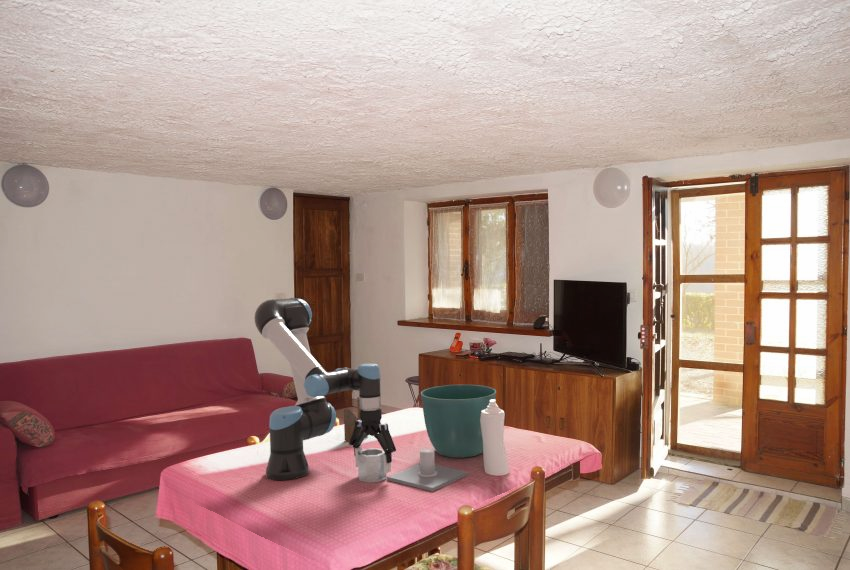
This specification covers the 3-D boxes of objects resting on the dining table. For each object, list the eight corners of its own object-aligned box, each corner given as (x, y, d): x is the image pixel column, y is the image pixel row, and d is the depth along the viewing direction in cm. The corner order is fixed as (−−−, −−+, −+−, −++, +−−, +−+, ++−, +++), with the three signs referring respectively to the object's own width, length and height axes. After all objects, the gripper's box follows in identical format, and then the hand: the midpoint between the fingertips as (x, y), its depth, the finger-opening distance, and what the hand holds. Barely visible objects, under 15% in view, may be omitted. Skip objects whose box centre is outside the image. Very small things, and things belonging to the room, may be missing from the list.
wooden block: (344, 441, 264) (343, 399, 264) (362, 435, 272) (361, 395, 272) (350, 442, 262) (348, 400, 262) (368, 437, 270) (367, 396, 270)
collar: (373, 484, 208) (372, 457, 208) (353, 479, 214) (352, 453, 214) (391, 476, 215) (391, 451, 215) (372, 471, 221) (371, 446, 221)
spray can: (473, 471, 219) (471, 401, 218) (489, 463, 227) (487, 396, 227) (501, 477, 212) (499, 405, 211) (516, 468, 220) (515, 399, 220)
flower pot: (459, 468, 222) (457, 402, 222) (407, 452, 245) (405, 392, 245) (513, 451, 242) (511, 390, 242) (460, 437, 265) (459, 382, 264)
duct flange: (432, 491, 199) (431, 463, 199) (387, 480, 211) (386, 453, 211) (467, 475, 215) (467, 448, 214) (423, 465, 227) (422, 440, 227)
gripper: (404, 409, 209) (407, 471, 209) (353, 403, 225) (355, 460, 225) (389, 414, 203) (392, 477, 203) (338, 406, 219) (340, 466, 219)
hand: (373, 469), depth 214 cm, fingers open, 13 cm apart
